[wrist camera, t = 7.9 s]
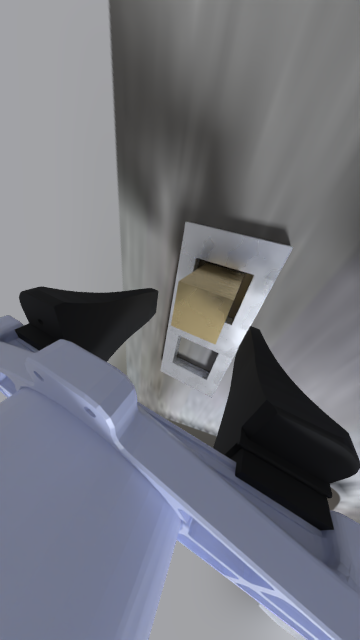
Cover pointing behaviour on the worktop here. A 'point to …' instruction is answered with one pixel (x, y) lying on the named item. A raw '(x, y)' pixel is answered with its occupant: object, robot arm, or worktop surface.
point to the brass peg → (205, 301)
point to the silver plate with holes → (265, 267)
